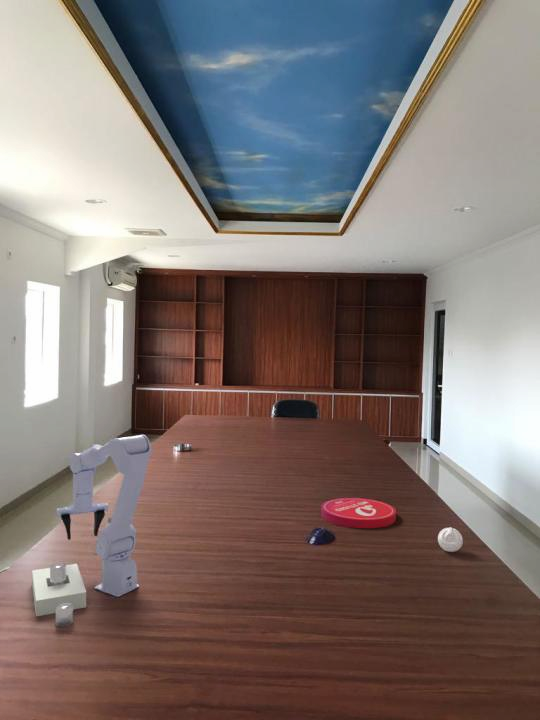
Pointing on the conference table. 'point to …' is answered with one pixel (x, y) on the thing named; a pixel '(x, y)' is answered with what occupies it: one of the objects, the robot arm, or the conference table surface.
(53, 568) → the tall pin
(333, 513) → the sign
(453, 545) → the white ball
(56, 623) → the short pin
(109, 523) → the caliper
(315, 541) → the computer mouse
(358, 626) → the conference table surface
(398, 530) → the conference table surface
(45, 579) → the pin board
